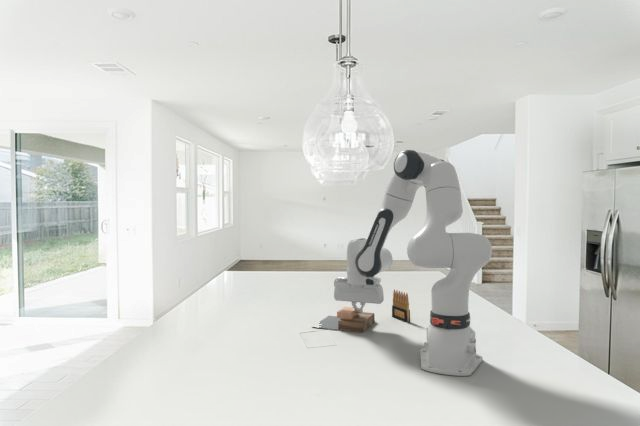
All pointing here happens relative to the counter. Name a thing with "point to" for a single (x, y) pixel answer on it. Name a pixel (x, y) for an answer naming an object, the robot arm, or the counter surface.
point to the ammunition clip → (400, 306)
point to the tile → (346, 313)
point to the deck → (357, 322)
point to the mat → (330, 322)
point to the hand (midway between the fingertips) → (358, 312)
